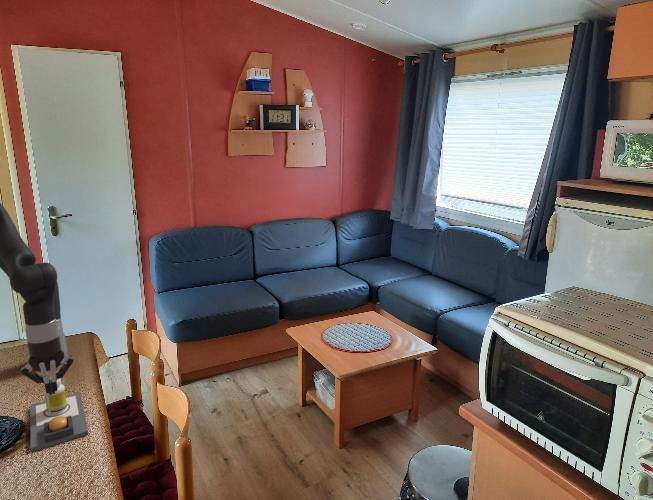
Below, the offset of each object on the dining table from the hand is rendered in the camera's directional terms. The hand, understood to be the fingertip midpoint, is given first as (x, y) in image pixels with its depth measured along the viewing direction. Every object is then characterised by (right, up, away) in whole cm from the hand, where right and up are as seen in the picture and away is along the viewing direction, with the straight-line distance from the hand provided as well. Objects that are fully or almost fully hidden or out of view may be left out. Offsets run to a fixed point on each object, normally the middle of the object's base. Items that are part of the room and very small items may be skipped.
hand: (52, 393), depth 129 cm
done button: (0, -11, +3) cm, 11 cm away
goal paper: (-6, -9, +13) cm, 17 cm away
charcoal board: (-4, -11, +10) cm, 16 cm away
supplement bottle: (-6, -9, +13) cm, 17 cm away
